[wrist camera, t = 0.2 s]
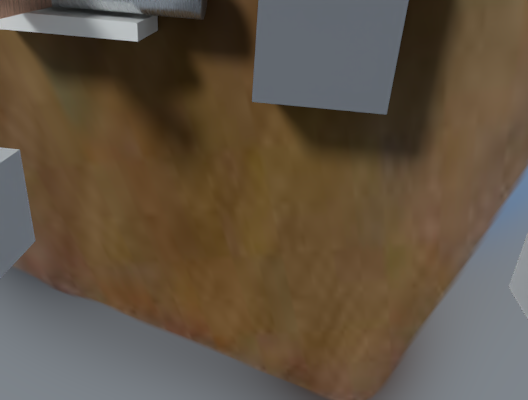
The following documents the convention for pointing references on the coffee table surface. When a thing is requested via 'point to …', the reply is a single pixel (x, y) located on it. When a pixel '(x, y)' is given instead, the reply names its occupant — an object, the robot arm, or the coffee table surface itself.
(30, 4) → the silver peg with handle
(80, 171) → the coffee table surface
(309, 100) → the socket block
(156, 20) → the white channel cradle
